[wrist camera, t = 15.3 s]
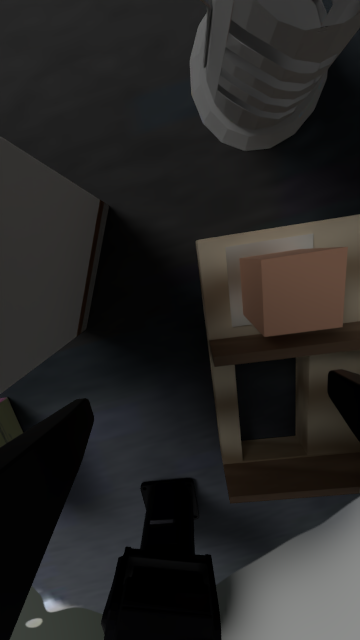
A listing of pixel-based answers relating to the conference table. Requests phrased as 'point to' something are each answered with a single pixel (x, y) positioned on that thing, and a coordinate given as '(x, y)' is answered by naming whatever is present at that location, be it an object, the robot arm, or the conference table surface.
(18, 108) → the conference table surface
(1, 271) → the tall white pillar
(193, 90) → the french press
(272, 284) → the block
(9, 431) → the box
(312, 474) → the cardboard tray
